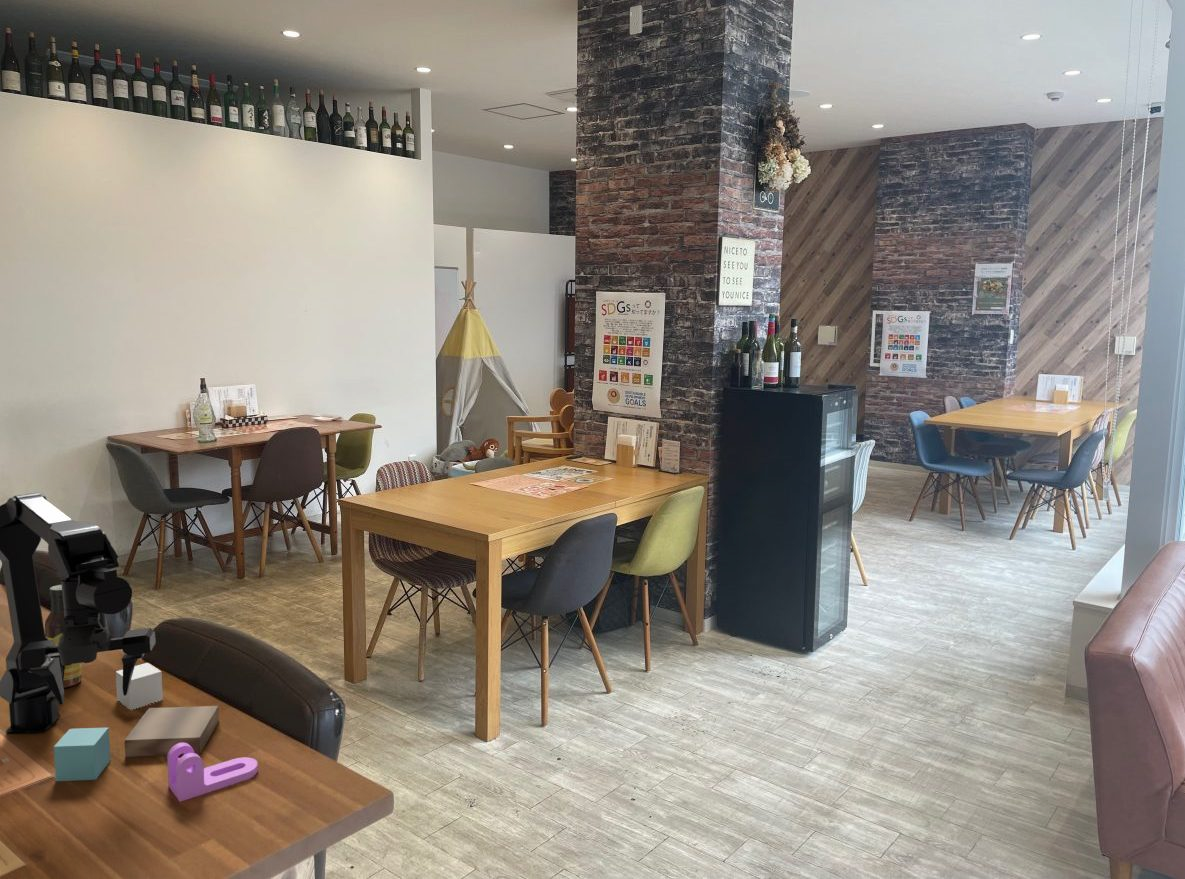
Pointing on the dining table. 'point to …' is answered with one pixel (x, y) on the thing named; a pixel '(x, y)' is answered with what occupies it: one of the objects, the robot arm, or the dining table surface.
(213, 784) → the bracket
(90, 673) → the dining table surface
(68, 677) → the sauce bottle
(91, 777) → the teal cube
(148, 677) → the white cube
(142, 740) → the walnut stand
